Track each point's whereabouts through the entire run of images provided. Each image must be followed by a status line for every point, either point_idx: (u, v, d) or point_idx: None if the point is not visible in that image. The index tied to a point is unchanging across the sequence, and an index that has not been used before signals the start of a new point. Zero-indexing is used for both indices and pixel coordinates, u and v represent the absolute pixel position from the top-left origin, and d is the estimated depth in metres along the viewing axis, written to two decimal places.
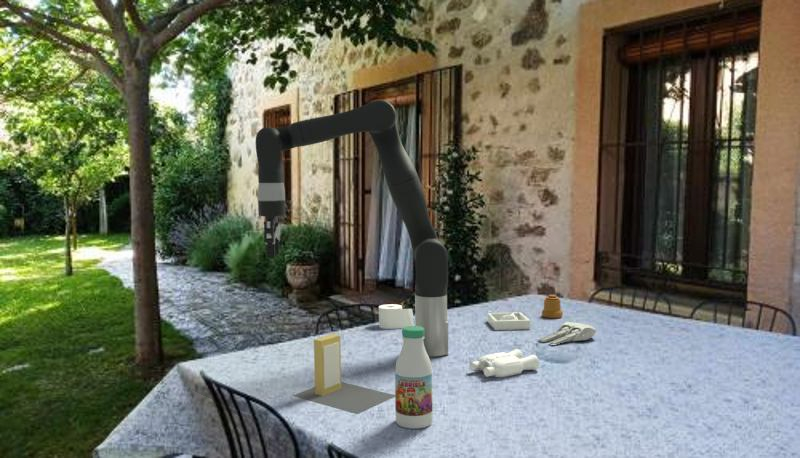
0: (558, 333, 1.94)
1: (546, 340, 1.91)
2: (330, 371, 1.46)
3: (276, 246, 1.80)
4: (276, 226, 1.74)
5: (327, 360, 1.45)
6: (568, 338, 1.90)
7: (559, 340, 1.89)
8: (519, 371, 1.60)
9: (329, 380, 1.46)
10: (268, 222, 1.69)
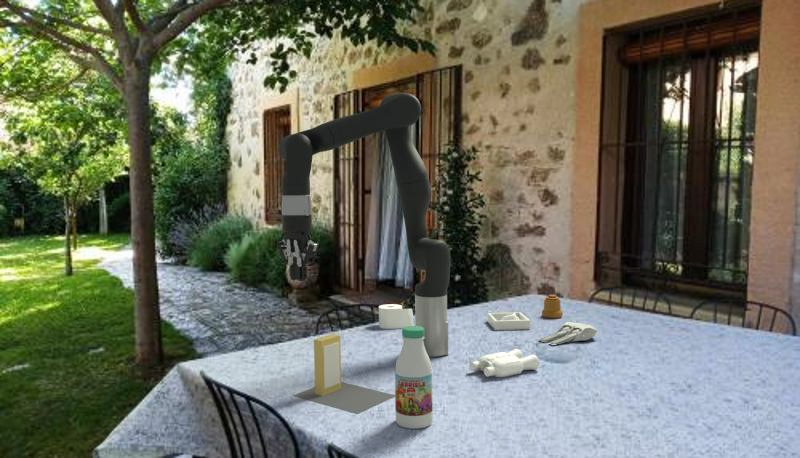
0: (559, 333, 1.94)
1: (546, 340, 1.91)
2: (330, 371, 1.46)
3: None
4: None
5: (327, 360, 1.45)
6: (568, 338, 1.90)
7: (559, 340, 1.89)
8: (519, 371, 1.60)
9: (329, 380, 1.46)
10: None
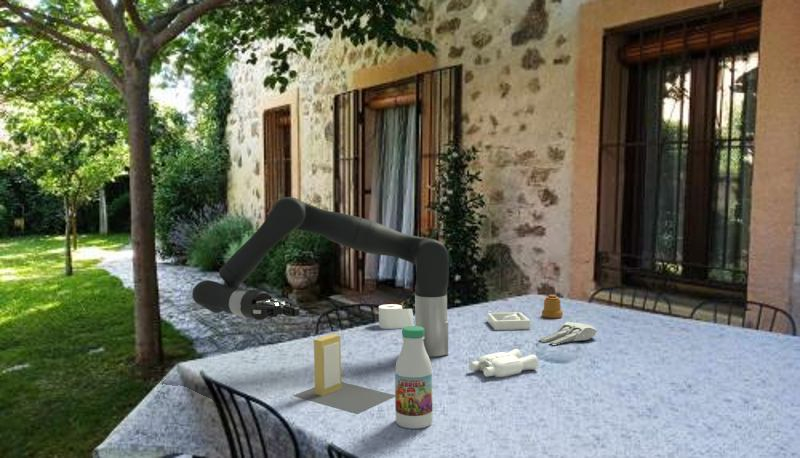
0: (559, 333, 1.94)
1: (546, 340, 1.92)
2: (330, 371, 1.46)
3: None
4: None
5: (327, 360, 1.45)
6: (568, 338, 1.90)
7: (559, 340, 1.89)
8: (519, 371, 1.60)
9: (329, 380, 1.46)
10: None
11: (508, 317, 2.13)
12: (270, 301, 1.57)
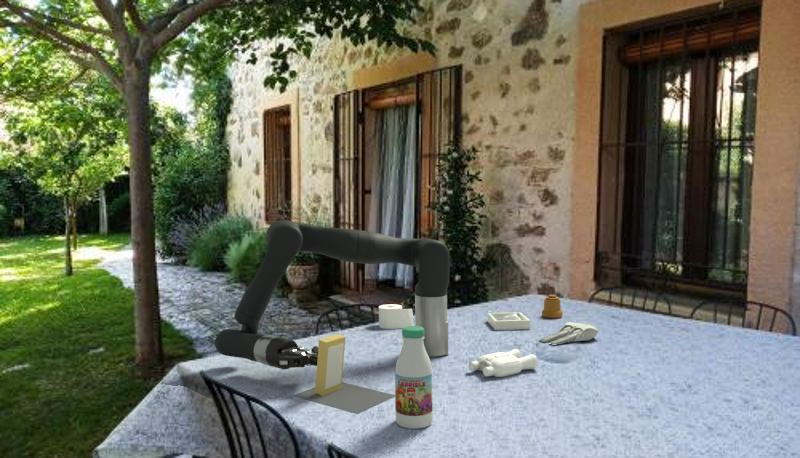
0: (560, 333, 1.94)
1: (547, 340, 1.92)
2: (332, 372, 1.46)
3: None
4: None
5: (330, 361, 1.45)
6: (569, 338, 1.90)
7: (560, 340, 1.89)
8: (518, 370, 1.60)
9: (330, 380, 1.46)
10: None
11: (508, 317, 2.12)
12: (296, 350, 1.52)
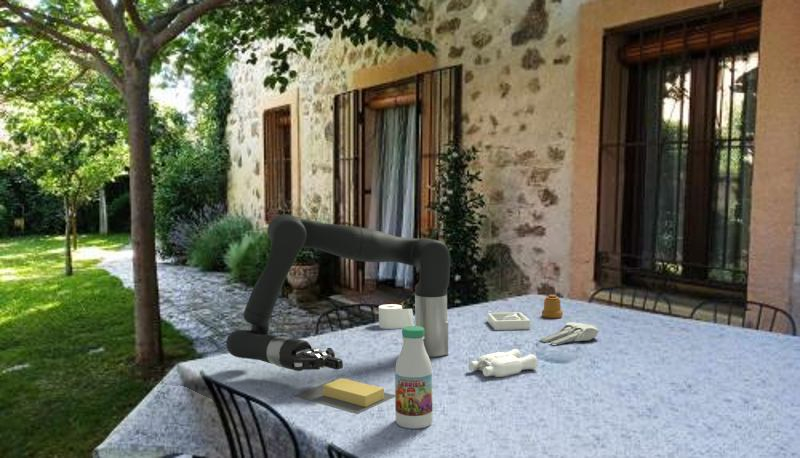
0: (560, 333, 1.94)
1: (547, 340, 1.92)
2: None
3: None
4: None
5: None
6: (570, 338, 1.90)
7: (560, 340, 1.89)
8: (518, 371, 1.60)
9: None
10: None
11: (508, 317, 2.12)
12: (311, 352, 1.50)
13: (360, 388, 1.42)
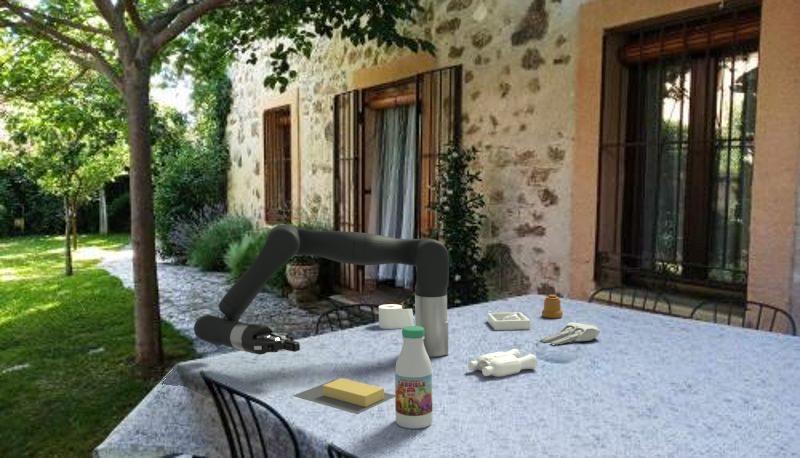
0: (561, 333, 1.94)
1: (548, 340, 1.92)
2: None
3: None
4: None
5: None
6: (570, 338, 1.90)
7: (560, 340, 1.89)
8: (517, 370, 1.60)
9: None
10: None
11: (509, 317, 2.12)
12: (271, 336, 1.58)
13: (360, 388, 1.42)
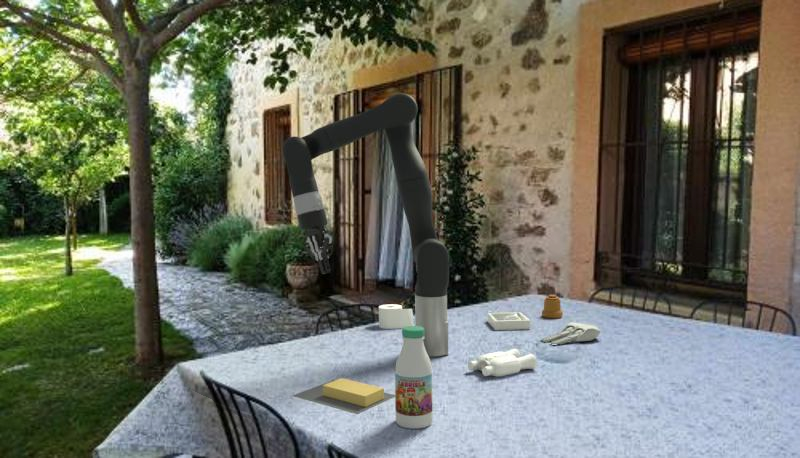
0: (561, 333, 1.94)
1: (548, 340, 1.92)
2: None
3: None
4: None
5: None
6: (570, 338, 1.90)
7: (561, 340, 1.89)
8: (517, 370, 1.60)
9: None
10: None
11: (509, 317, 2.12)
12: None
13: (360, 388, 1.42)
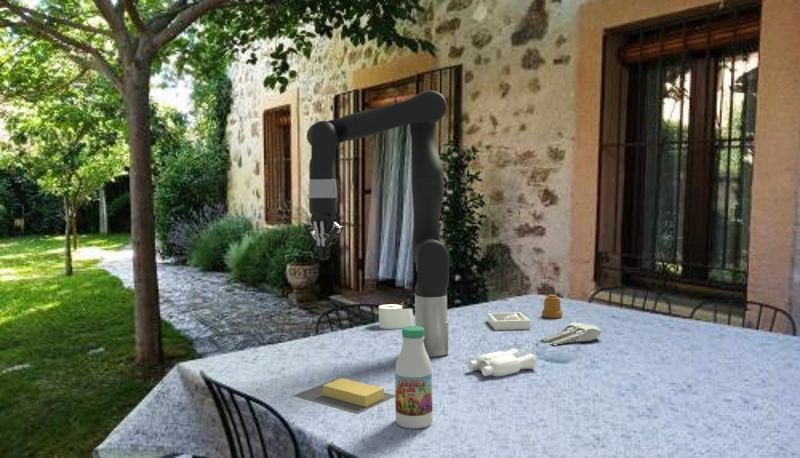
0: (562, 333, 1.94)
1: (549, 340, 1.92)
2: None
3: None
4: None
5: None
6: (571, 338, 1.90)
7: (561, 340, 1.89)
8: (517, 370, 1.61)
9: None
10: None
11: (509, 317, 2.12)
12: None
13: (360, 388, 1.42)
